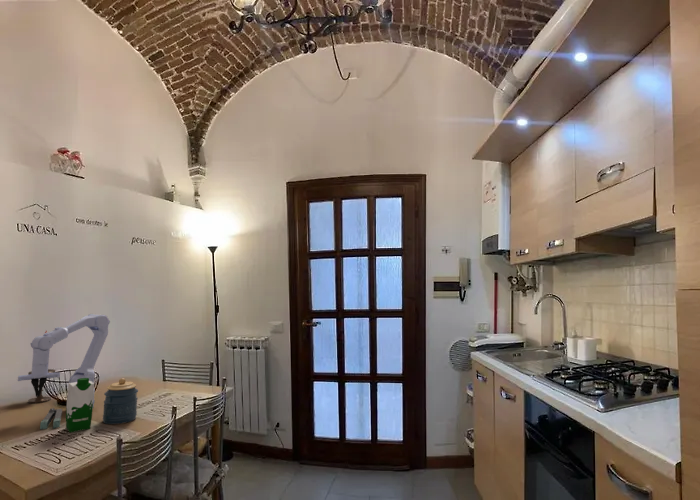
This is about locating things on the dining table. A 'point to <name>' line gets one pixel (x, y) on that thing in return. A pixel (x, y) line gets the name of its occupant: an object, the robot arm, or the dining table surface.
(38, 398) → the candlestick
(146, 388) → the dining table surface
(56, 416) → the tongs fixed
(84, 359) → the robot arm
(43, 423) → the tong leg
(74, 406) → the milk carton
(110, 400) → the canister
